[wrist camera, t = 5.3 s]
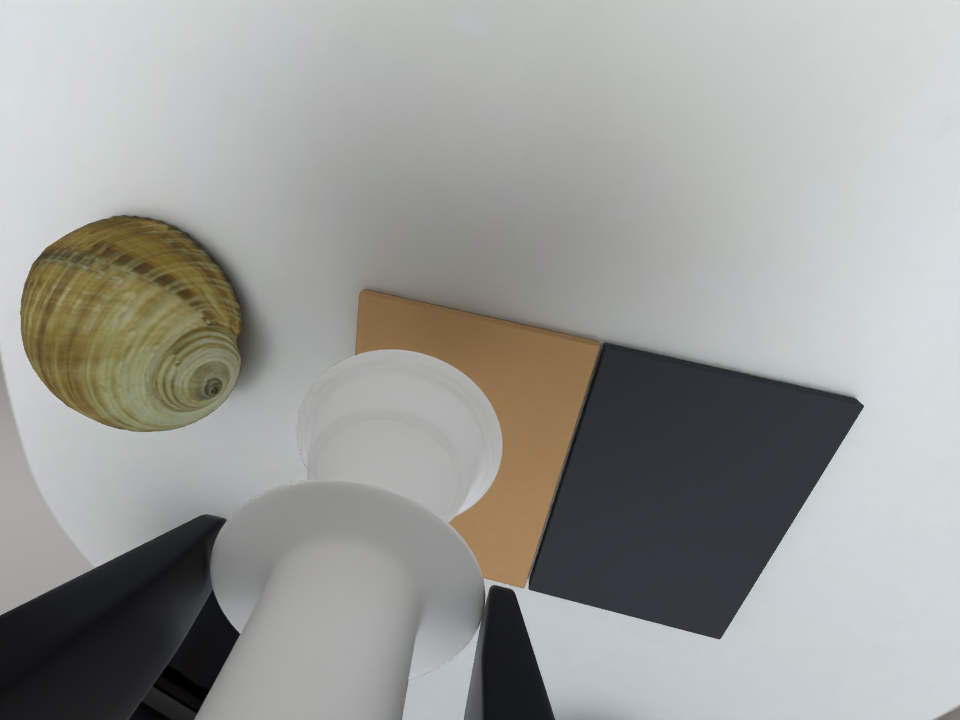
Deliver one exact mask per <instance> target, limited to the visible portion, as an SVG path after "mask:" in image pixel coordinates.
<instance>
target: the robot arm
mask: <svg viewBox="0 0 960 720" xmlns="http://www.w3.org/2000/svg"><path fill="white" fill-rule="evenodd" d="M226 521H227V520H226V519H224V518H221V517H217V516H213V515H207V514H206V515H201V516H199V517H197V518H195V519H193V520H191V521H189V522H187V523H185V524H183V525H181V526H179V527H177V528H175V529H173V530H171V531H169V532H167V533H165V534H163V535H161V536H159V537H157V538H155V539H153V540H151V541H149V542H147V543H145V544H143V545H141V546H139V547H137V548H135V549H133V550H131V551H129V552H127V553H125V554H123V555H121V556H119V557H117V558H115V559H113V560H111V561H109V562H107V563H105V564H103V565H101V566H99V567H97V568H95V569H93V570H91V571H89V572H87V573H84V574H83V575H80V576H78V577H76V578H75V579H73V580H71V581H68V582H66V583H64V584H62V585H60V586H58V587H56V588H55V589H53V590H50V591H48V592H47V593H44V594H42V595H40V596H38V597H37V598H34V599H32V600H30V601H28V602H26V603H25V604H22V605H20V606H18V607H16V608H14V609H12V610H10V611H8V612H6V613H4V614H2V615H1V616H0V720H194V719H195V717H196V715H197V713H198V712H199V710H200V708H201V706H202V704H203V702H204V701H205V699H206V697H207V695H208V693H209V691H210V689H211V688H212V686H213V684H214V682H215V680H216V678H217V677H218V675H219V673H220V671H221V669H222V667H223V665H224V664H225V662H226V660H227V658H228V656H229V654H230V653H231V651H232V649H233V647H234V645H235V643H236V641H237V640H238V638H239V636H240V633H239V632H238V631H237V630H236V629H235V628H234V626H233V625H232V624H231V623H230V621H229V620H228V619H227V617H226V616H225V614H224V612H223V611H222V609H221V607H220V605H219V603H218V601H217V599H216V596H215V593H214V590H213V587H212V582H211V575H210V560H211V553H212V549H213V546H214V543H215V540H216V538H217V536H218V534H219V532H220V530H221V528H222V527H223V525H224V524H225V523H226ZM464 720H555V718H554V714H553V711H552V708H551V705H550V702H549V699H548V696H547V692H546V689H545V686H544V683H543V680H542V677H541V673H540V670H539V667H538V664H537V661H536V658H535V655H534V651H533V648H532V645H531V642H530V639H529V636H528V632H527V629H526V626H525V623H524V620H523V617H522V614H521V610H520V607H519V604H518V601H517V598H516V595H515V593H514V591H513V590H511V589H508V588H504V587H500V586H496V585H493V586H491V587H490V589H489V592H488V596H487V600H486V604H485V608H484V612H483V616H482V621H481V626H480V631H479V637H478V642H477V648H476V653H475V659H474V664H473V670H472V676H471V681H470V687H469V692H468V698H467V704H466V709H465V716H464Z"/></svg>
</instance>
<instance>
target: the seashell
mask: <svg viewBox="0 0 960 720" xmlns="http://www.w3.org/2000/svg"><path fill="white" fill-rule="evenodd" d="M230 284H231V283H230V280H229V279H228V277H227V276H226V275H225V274H223V273H222V272H221V270H220V268H219V266H218V264H217V262H216V261H215V260H214V259H213V258H212V257H211V256H209V255H208V254H207V253H206V252H205V251H204V250H203V248H202V247H201V246H200V245H199V244H197V243H195V242H193V241H192V240H191V238H190V237H189V235H188V234H187V233H183V232H180V231H179V230H178V229H177V228H176V227H174V226H168V225H166V224H165V223H164V222H162V221H154V220H152V219H150V218H140V217H137V216H133V217H128V216H125V215H123V216H119V217H117V216H114V217H111V218H109V219H103V220H100V221H96V222H93V223H90V224H87V225H85V226H83V227H81V228H79V229H77V230H74V231H73V232H71V233H69V234H67V235H66V236H64V237H62V238H61V239H59V240H58V241H56V242H55V243H53V244H52V245H50V246H48V247H47V248H46V249H45V250H44V251H43V252H42V254H41V255H40V256H39V257H38V258H37V259H36V261H35V262H34V263H33V265H32V267H31V270H30V272H29V275H28V277H27V279H26V282H25V285H24V289H23V294H22V299H21V311H20V315H21V334H22V340H23V345H24V349H25V352H26V355H27V357H28V359H29V361H30V363H31V365H32V367H33V369H34V370H35V372H36V373H37V375H38V376H39V377H40V379H41V380H42V382H44V384H45V385H46V386H47V388H48V389H49V390H50V391H51V392H52V393H53V394H54V395H55V396H56V397H57V398H59V399H60V400H61V401H62V402H63V403H64V404H66V405H67V406H68V407H70V408H72V409H74V410H76V411H78V412H79V413H81V414H83V415H85V416H87V417H89V418H91V419H93V420H95V421H97V422H100V423H102V424H105V425H107V426H111V427H114V428H118V429H124V430H129V431H137V432H152V431H166V430H172V429H176V428H180V427H184V426H187V425H189V424H192V423H194V422H196V421H198V420H200V419H202V418H204V417H206V416H208V415H209V414H210V413H212V412H213V411H214V410H216V409H217V408H218V407H219V406H220V405H221V404H222V403H223V402H224V401H225V400H226V399H227V397H228V396H229V395H230V393H231V392H232V390H233V388H234V387H235V385H236V382H237V380H238V377H239V372H240V367H241V356H240V354H239V349H238V347H237V343H236V339H237V337H238V336H239V335H240V333H241V332H242V331H243V330H242V318H241V310H240V305H239V302H238V299H237V298H236V296H235V295H234V291H233V288H232V287H231V286H230Z"/></svg>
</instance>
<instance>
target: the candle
mask: <svg viewBox="0 0 960 720" xmlns="http://www.w3.org/2000/svg"><path fill="white" fill-rule="evenodd" d="M297 440H298V446H299V451H300V454H301V457H302V460H303V462H304V465H305V467H306V469H307V475H308V480H307V481H300V482H295V483H290V484H286V485H283V486H280V487H277V488H274V489H271V490H269V491H266V492H264V493H262V494H260V495H258V496H256V497H254V498H253V499H251V500H250V501H248V502H247V503H245V504H244V505H243V506H241V507H240V508H239V509H238V510H237V511H235V512H234V513H233V514H232V515H231V516H230V518H229V519H228V520H227V521H226V523H225V524H224V525H223V527H222V528H221V530H220V532H219V534H218V536H217V538H216V540H215V543H214V546H213V549H212V553H211V560H210V575H211V582H212V587H213V590H214V593H215V596H216V599H217V601H218V603H219V605H220V607H221V609H222V611H223V612H224V614H225V616H226V617H227V619H228V620H229V621H230V623H231V624H232V625H233V626H234V628H235V629H236V630H237V631H238V632H239V633H240V636H239V638H238V640H237V641H236V643H235V645H234V647H233V649H232V651H231V653H230V654H229V656H228V658H227V660H226V662H225V664H224V665H223V667H222V669H221V671H220V673H219V675H218V677H217V678H216V680H215V682H214V684H213V686H212V688H211V689H210V691H209V693H208V695H207V697H206V699H205V701H204V702H203V704H202V706H201V708H200V710H199V712H198V713H197V715H196V717H195V719H194V720H402V715H403V709H404V703H405V697H406V692H407V686H408V680H409V679H411V678H414V677H417V676H420V675H423V674H426V673H428V672H430V671H433V670H435V669H437V668H439V667H440V666H442V665H444V664H445V663H447V662H448V661H450V660H451V659H453V658H454V657H455V656H456V655H457V654H459V653H460V652H461V651H462V650H463V649H464V648H465V646H466V645H467V644H468V643H469V642H470V640H471V639H472V638H473V636H474V634H475V633H476V631H477V629H478V627H479V625H480V622H481V619H482V616H483V612H484V606H485V586H484V580H483V576H482V572H481V569H480V567H479V564H478V562H477V560H476V558H475V556H474V554H473V552H472V551H471V549H470V547H469V546H468V544H467V543H466V542H465V540H464V539H463V538H462V537H461V535H460V534H459V533H458V532H457V531H456V530H455V529H454V528H453V527H452V526H451V525H450V524H449V522H450V521H451V520H452V519H453V518H454V517H455V516H457V515H459V514H461V513H463V512H464V511H466V510H467V509H469V508H470V507H472V506H473V505H474V504H475V503H476V502H478V501H479V500H480V499H481V498H482V496H483V495H484V494H485V493H486V492H487V490H488V489H489V488H490V486H491V485H492V483H493V481H494V479H495V477H496V475H497V472H498V470H499V467H500V463H501V458H502V448H503V443H502V433H501V428H500V424H499V421H498V418H497V415H496V413H495V411H494V409H493V407H492V405H491V403H490V402H489V400H488V399H487V397H486V396H485V394H484V393H483V392H482V391H481V389H480V388H479V387H478V386H477V385H476V384H475V383H474V382H473V381H472V380H471V379H470V378H469V377H467V376H466V375H465V374H464V373H462V372H461V371H459V370H458V369H456V368H455V367H453V366H451V365H450V364H448V363H446V362H444V361H442V360H439V359H437V358H434V357H432V356H429V355H426V354H422V353H418V352H413V351H407V350H393V349H389V350H376V351H370V352H365V353H361V354H358V355H355V356H352V357H349V358H347V359H345V360H343V361H341V362H339V363H337V364H335V365H334V366H332V367H331V368H330V369H328V370H327V371H326V372H324V373H323V374H322V375H321V376H320V377H319V378H318V379H317V380H316V381H315V383H314V384H313V385H312V386H311V388H310V389H309V391H308V392H307V394H306V396H305V398H304V400H303V402H302V405H301V408H300V411H299V415H298V421H297Z"/></svg>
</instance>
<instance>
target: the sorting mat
mask: <svg viewBox="0 0 960 720" xmlns="http://www.w3.org/2000/svg"><path fill="white" fill-rule="evenodd" d="M389 349H393V350H407V351H413V352H418V353H422V354H426V355H429V356H432V357H434V358H437V359H439V360H442V361H444V362H446V363H448V364H450V365H451V366H453V367H455V368H456V369H458V370H459V371H461V372H462V373H464V374H465V375H466V376H467V377H469V378H470V379H471V380H472V381H473V382H474V383H475V384H476V385H477V386H478V387H479V388H480V389H481V391H482V392H483V393H484V394H485V396H486V397H487V399H488V400H489V402H490V403H491V405H492V407H493V409H494V411H495V413H496V415H497V418H498V421H499V424H500V428H501V433H502V443H503V448H502V458H501V463H500V467H499V470H498V472H497V475H496V477H495V479H494V481H493V483H492V485H491V486H490V488H489V489H488V490H487V492H486V493H485V494H484V495H483V496H482V498H481V499H480V500H479V501H478V502H476V503H475V504H474V505H473V506H472V507H470V508H469V509H467V510H466V511H464V512H463V513H461V514H459V515H457V516H455V517H454V518H453V519H452V520H451V521H450V522H449V524H450V525H451V526H452V527H453V528H454V529H455V530H456V531H457V532H458V533H459V534H460V535H461V537H462V538H463V539H464V540H465V542H466V543H467V544H468V546H469V547H470V549H471V551H472V552H473V554H474V556H475V558H476V560H477V562H478V564H479V567H480V569H481V572H482V576H483V578H486V579H489V580H493V581H497V582H501V583H505V584H509V585H512V586H516V587H520V588H525V585H526V582H527V578H528V575H529V572H530V569H531V566H532V563H533V559H534V556H535V553H536V550H537V547H538V543H539V540H540V537H541V534H542V531H543V527H544V524H545V521H546V518H547V515H548V511H549V508H550V505H551V502H552V499H553V496H554V492H555V489H556V486H557V483H558V480H559V476H560V473H561V470H562V467H563V464H564V460H565V457H566V454H567V451H568V448H569V444H570V441H571V438H572V435H573V432H574V429H575V425H576V422H577V419H578V416H579V413H580V409H581V406H582V403H583V400H584V397H585V393H586V390H587V387H588V384H589V381H590V377H591V374H592V371H593V368H594V365H595V362H596V358H597V355H598V352H599V349H600V345H599V342H598V341H594V340H590V339H585V338H581V337H576V336H572V335H567V334H563V333H558V332H554V331H549V330H545V329H540V328H536V327H531V326H527V325H522V324H518V323H513V322H509V321H504V320H500V319H495V318H491V317H486V316H482V315H477V314H473V313H468V312H464V311H459V310H455V309H450V308H446V307H441V306H437V305H432V304H428V303H423V302H419V301H414V300H410V299H405V298H401V297H396V296H392V295H387V294H383V293H378V292H374V291H369V290H363V291H362V292H361V293H360V294H359V308H358V323H357V338H356V353H355V355H358V354H361V353H365V352H370V351H376V350H389ZM863 407H864V405H863V404H861V403H860V402H859V401H858V400H857V399H855V398H850V397H846V396H841V395H837V394H832V393H828V392H823V391H819V390H814V389H810V388H805V387H801V386H796V385H792V384H787V383H783V382H778V381H774V380H769V379H765V378H760V377H756V376H751V375H747V374H742V373H738V372H733V371H729V370H724V369H720V368H715V367H711V366H706V365H702V364H697V363H693V362H688V361H684V360H679V359H675V358H670V357H666V356H661V355H657V354H652V353H648V352H643V351H639V350H634V349H630V348H625V347H621V346H616V345H612V344H607V343H605V344H604V346H603V349H602V352H601V355H600V358H599V362H598V365H597V368H596V371H595V374H594V377H593V381H592V384H591V387H590V390H589V393H588V396H587V400H586V403H585V406H584V409H583V412H582V415H581V418H580V422H579V425H578V428H577V431H576V434H575V437H574V441H573V444H572V447H571V450H570V453H569V456H568V460H567V463H566V466H565V469H564V472H563V475H562V478H561V482H560V485H559V488H558V491H557V494H556V497H555V501H554V504H553V507H552V510H551V513H550V516H549V520H548V523H547V526H546V529H545V532H544V535H543V539H542V542H541V545H540V548H539V551H538V554H537V557H536V561H535V564H534V567H533V570H532V573H531V576H530V580H529V590H532V591H536V592H540V593H543V594H547V595H551V596H555V597H559V598H563V599H567V600H570V601H574V602H578V603H582V604H586V605H590V606H593V607H597V608H601V609H605V610H609V611H613V612H616V613H620V614H624V615H628V616H632V617H636V618H639V619H643V620H647V621H651V622H655V623H659V624H662V625H666V626H670V627H674V628H678V629H682V630H685V631H689V632H693V633H697V634H701V635H705V636H708V637H712V638H716V639H721V637H722V636H723V634H724V632H725V631H726V629H727V628H728V626H729V624H730V623H731V621H732V620H733V618H734V616H735V615H736V613H737V611H738V610H739V608H740V607H741V605H742V603H743V602H744V600H745V598H746V597H747V595H748V594H749V592H750V590H751V589H752V587H753V585H754V584H755V582H756V581H757V579H758V577H759V576H760V574H761V573H762V571H763V569H764V568H765V566H766V564H767V563H768V561H769V560H770V558H771V556H772V555H773V553H774V551H775V550H776V548H777V547H778V545H779V543H780V542H781V540H782V538H783V537H784V535H785V534H786V532H787V530H788V529H789V527H790V526H791V524H792V522H793V521H794V519H795V517H796V516H797V514H798V513H799V511H800V509H801V508H802V506H803V504H804V503H805V501H806V500H807V498H808V496H809V495H810V493H811V491H812V490H813V488H814V487H815V485H816V483H817V482H818V480H819V479H820V477H821V475H822V474H823V472H824V470H825V469H826V467H827V466H828V464H829V462H830V461H831V459H832V457H833V456H834V454H835V453H836V451H837V449H838V448H839V446H840V444H841V443H842V441H843V440H844V438H845V436H846V435H847V433H848V432H849V430H850V428H851V427H852V425H853V423H854V422H855V420H856V419H857V417H858V415H859V414H860V412H861V410H862V409H863Z"/></svg>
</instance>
